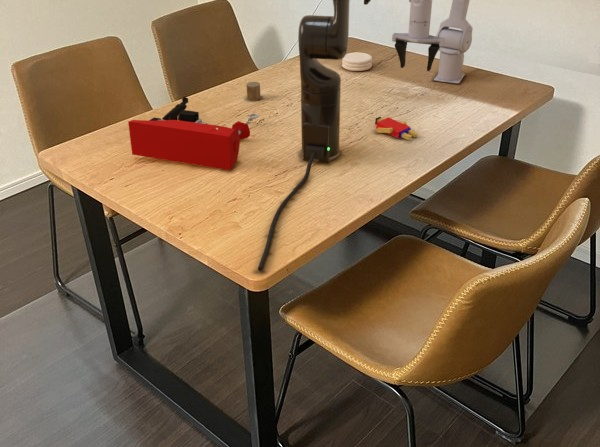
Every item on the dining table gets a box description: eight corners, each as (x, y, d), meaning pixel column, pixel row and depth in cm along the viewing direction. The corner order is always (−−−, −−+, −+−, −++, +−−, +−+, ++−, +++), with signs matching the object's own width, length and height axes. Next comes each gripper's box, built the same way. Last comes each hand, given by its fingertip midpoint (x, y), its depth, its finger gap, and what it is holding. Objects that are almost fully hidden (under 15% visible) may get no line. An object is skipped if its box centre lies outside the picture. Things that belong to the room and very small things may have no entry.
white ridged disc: (357, 73, 202) (357, 63, 200) (335, 66, 209) (336, 56, 207) (378, 66, 208) (378, 56, 206) (356, 60, 214) (357, 50, 212)
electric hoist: (177, 78, 171) (124, 120, 146) (270, 90, 165) (231, 136, 141) (180, 112, 176) (129, 158, 152) (269, 125, 171) (232, 175, 146)
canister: (261, 96, 187) (260, 81, 185) (259, 100, 184) (258, 86, 181) (248, 95, 187) (247, 81, 185) (246, 100, 184) (245, 86, 182)
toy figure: (421, 128, 160) (386, 113, 167) (405, 136, 156) (369, 120, 163) (420, 136, 162) (385, 121, 169) (404, 144, 158) (368, 128, 165)
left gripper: (323, -60, 165) (323, 3, 174) (374, -57, 160) (371, 7, 169) (334, -63, 171) (333, -2, 180) (383, -61, 166) (380, 2, 175)
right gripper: (390, 21, 170) (387, 69, 177) (442, 26, 165) (437, 75, 172) (397, 15, 175) (394, 62, 183) (448, 19, 170) (443, 68, 178)
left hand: (351, 2), depth 174 cm, fingers open, 8 cm apart
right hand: (415, 68), depth 178 cm, fingers open, 7 cm apart
